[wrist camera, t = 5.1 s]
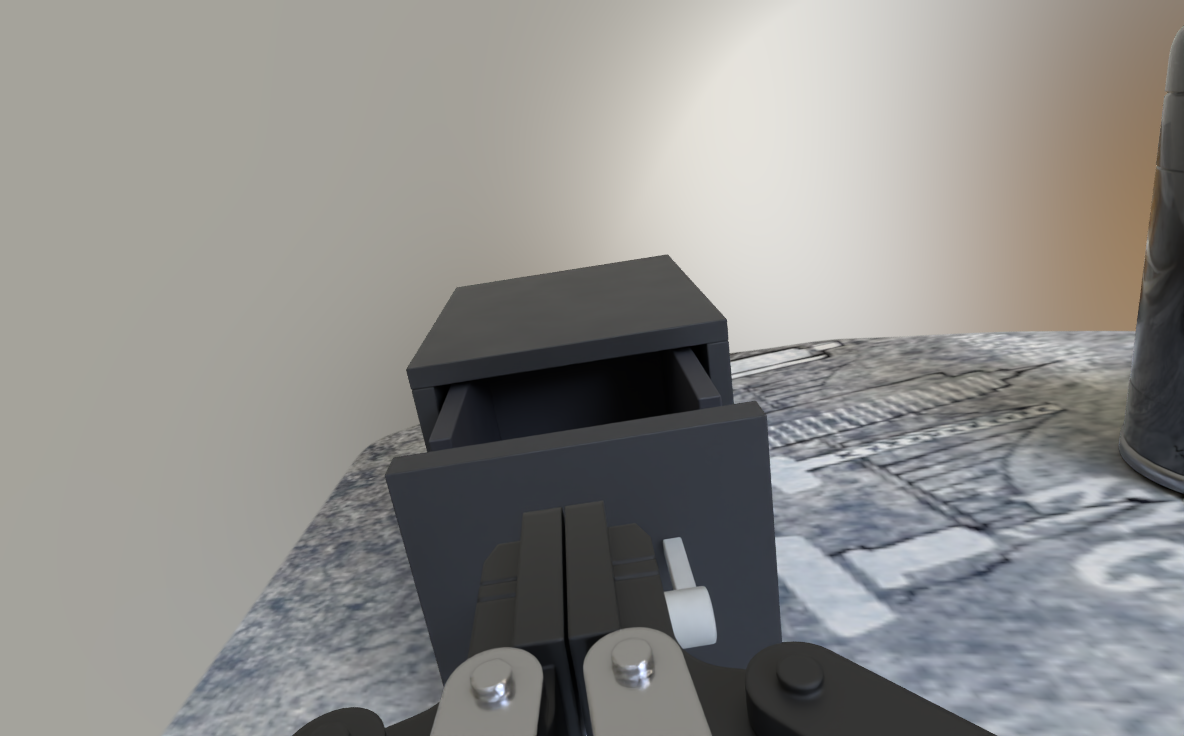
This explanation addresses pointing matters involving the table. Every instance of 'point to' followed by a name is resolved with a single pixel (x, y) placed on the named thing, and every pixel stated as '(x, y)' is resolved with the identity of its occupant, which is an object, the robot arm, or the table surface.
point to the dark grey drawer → (600, 492)
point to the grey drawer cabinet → (567, 327)
